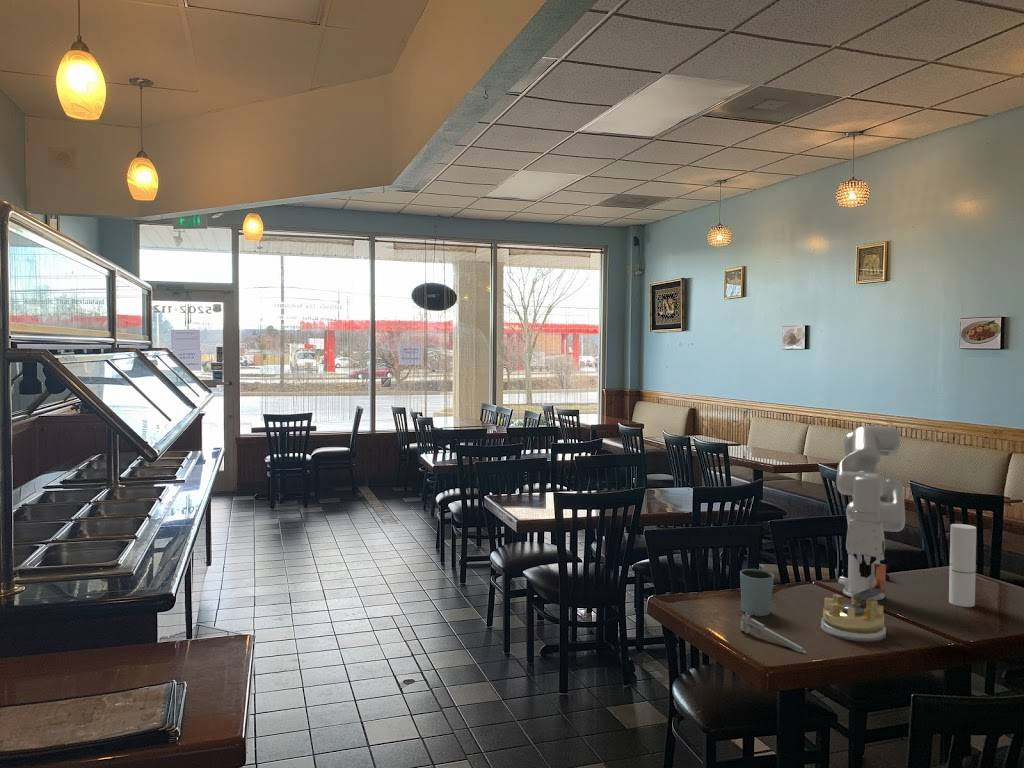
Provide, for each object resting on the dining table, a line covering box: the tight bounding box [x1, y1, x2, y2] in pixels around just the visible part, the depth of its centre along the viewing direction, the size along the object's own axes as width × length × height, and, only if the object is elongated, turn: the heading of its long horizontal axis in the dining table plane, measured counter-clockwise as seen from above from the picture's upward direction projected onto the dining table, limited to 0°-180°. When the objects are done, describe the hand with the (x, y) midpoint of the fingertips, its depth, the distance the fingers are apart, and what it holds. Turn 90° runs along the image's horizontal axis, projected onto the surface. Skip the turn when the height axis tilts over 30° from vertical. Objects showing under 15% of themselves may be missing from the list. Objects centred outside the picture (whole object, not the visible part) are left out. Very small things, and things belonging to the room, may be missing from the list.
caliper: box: [739, 612, 808, 655], centre depth 207 cm, size 20×1×6 cm, turn 37°
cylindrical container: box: [948, 523, 977, 608], centre depth 241 cm, size 7×7×25 cm
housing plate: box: [820, 617, 887, 643], centre depth 216 cm, size 17×17×2 cm
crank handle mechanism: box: [822, 563, 887, 633], centre depth 218 cm, size 21×21×14 cm
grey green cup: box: [739, 568, 775, 617], centre depth 232 cm, size 10×10×12 cm
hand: (865, 576), depth 229 cm, fingers closed
